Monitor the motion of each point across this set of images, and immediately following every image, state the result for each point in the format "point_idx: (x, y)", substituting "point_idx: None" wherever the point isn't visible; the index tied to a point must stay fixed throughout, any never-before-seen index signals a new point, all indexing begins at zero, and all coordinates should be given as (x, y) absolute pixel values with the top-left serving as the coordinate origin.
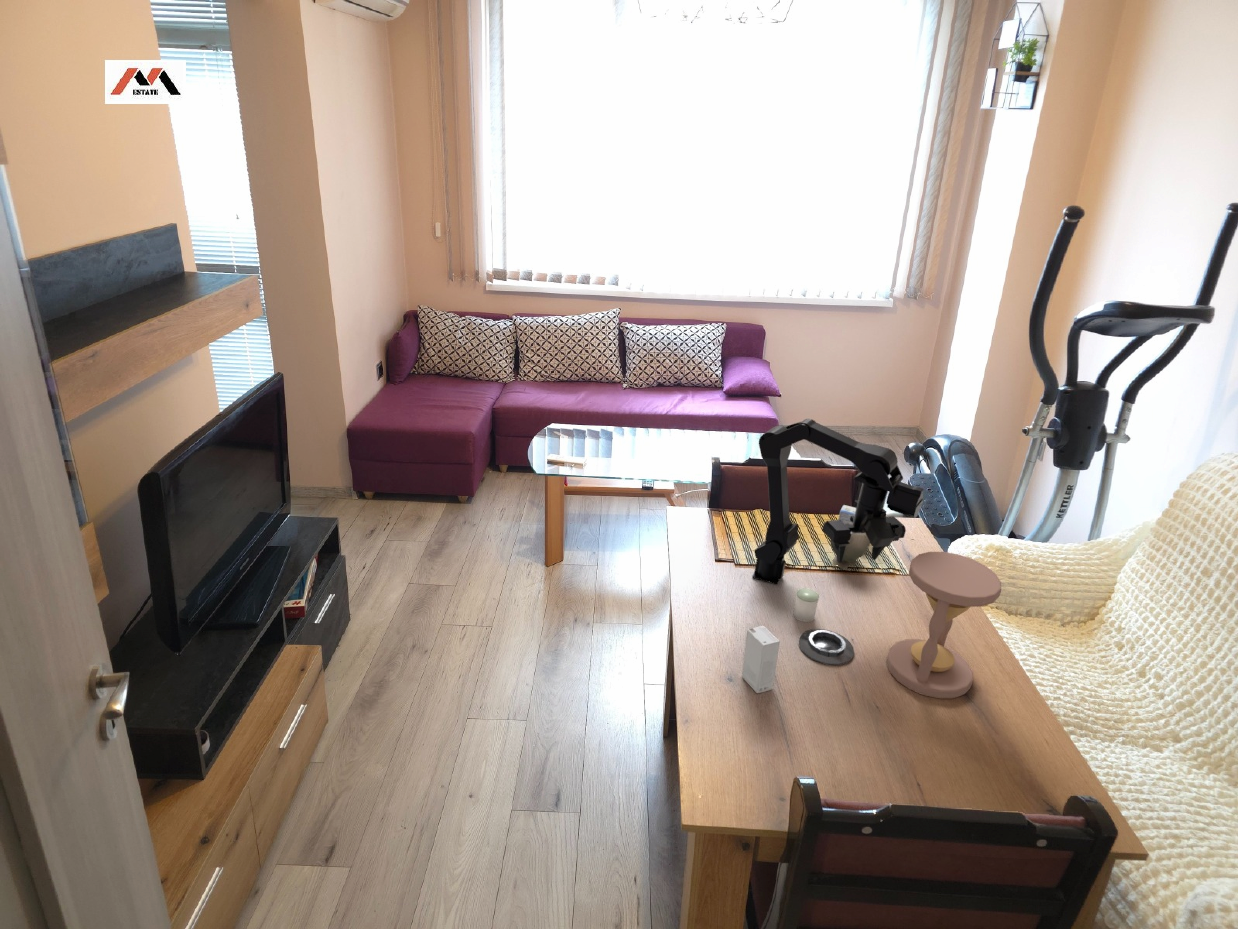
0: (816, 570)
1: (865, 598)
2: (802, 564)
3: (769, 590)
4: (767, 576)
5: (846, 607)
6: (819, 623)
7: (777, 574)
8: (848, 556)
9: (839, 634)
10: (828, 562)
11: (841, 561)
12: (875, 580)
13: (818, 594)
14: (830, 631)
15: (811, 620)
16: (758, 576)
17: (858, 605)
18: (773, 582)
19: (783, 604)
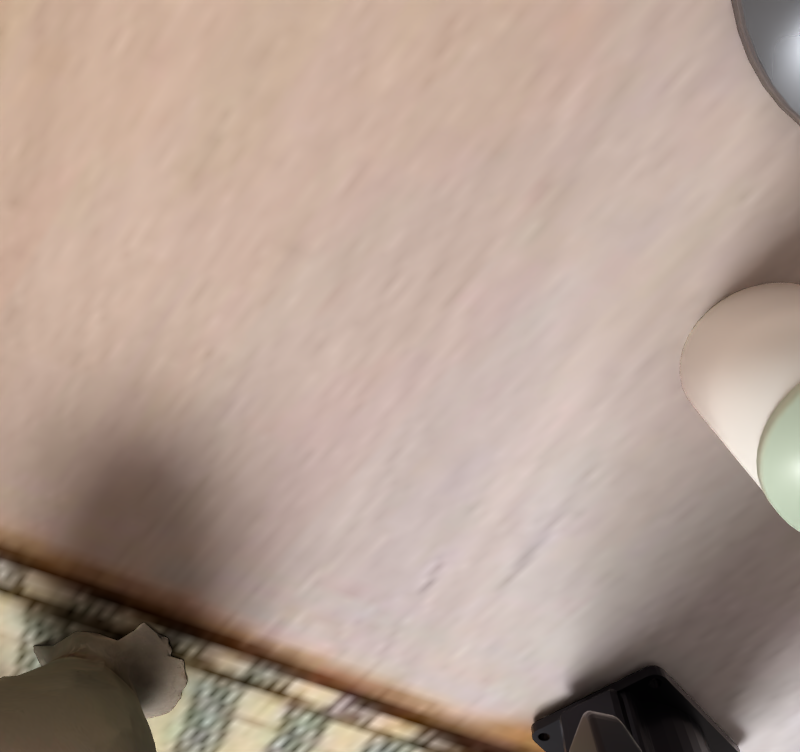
0: (319, 674)
1: (187, 368)
2: (361, 733)
3: (742, 638)
4: (695, 734)
5: (385, 330)
6: (733, 237)
7: (644, 729)
8: (94, 706)
9: (743, 9)
10: (205, 699)
11: (597, 734)
12: (19, 492)
13: (787, 416)
14: (782, 80)
15: (772, 285)
16: (714, 748)
17: (285, 320)
18: (672, 682)
19: None
